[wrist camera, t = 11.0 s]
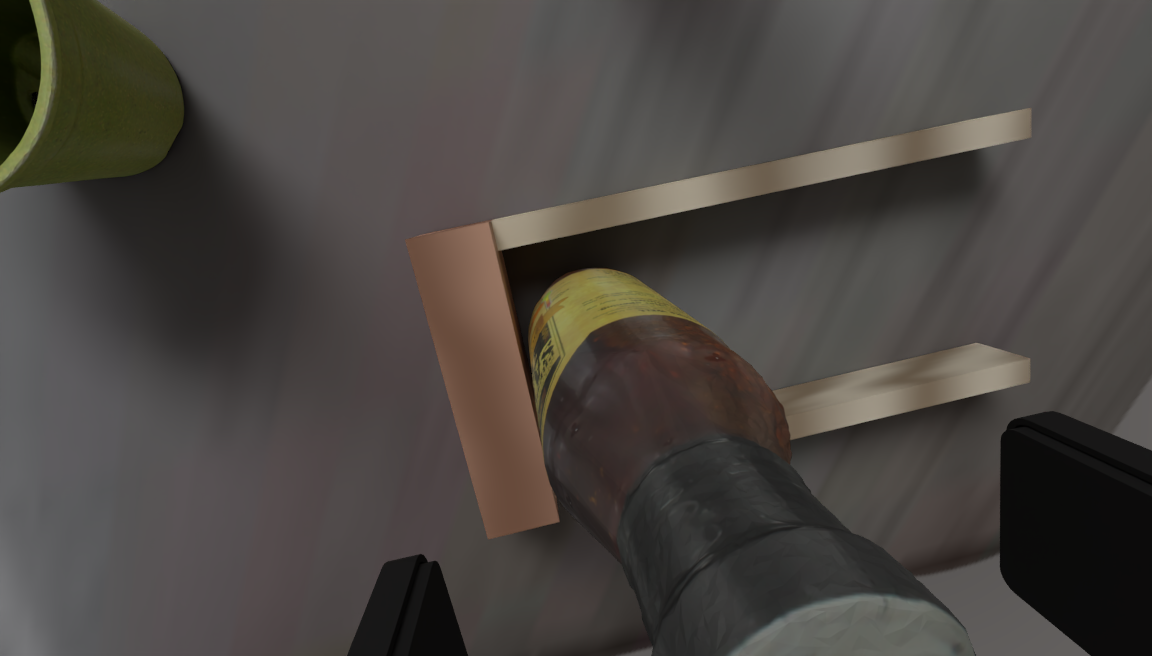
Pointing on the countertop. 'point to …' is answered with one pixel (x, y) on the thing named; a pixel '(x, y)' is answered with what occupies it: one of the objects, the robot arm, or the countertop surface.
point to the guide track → (474, 252)
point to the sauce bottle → (706, 488)
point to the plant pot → (81, 94)
